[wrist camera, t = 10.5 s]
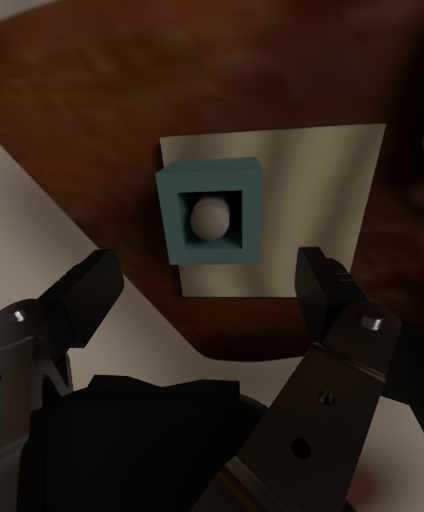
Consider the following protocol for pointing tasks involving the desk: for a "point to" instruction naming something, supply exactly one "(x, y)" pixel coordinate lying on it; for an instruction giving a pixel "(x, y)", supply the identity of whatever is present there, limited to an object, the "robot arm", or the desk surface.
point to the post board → (282, 202)
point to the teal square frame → (181, 207)
